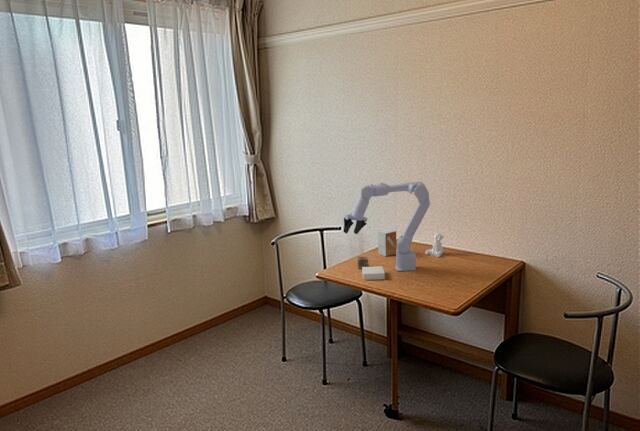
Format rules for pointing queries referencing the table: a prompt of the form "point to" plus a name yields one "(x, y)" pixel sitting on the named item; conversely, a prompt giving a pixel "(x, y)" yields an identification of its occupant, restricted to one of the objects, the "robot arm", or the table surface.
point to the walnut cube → (362, 262)
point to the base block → (373, 273)
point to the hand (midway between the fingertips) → (350, 233)
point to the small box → (387, 242)
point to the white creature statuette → (436, 246)
